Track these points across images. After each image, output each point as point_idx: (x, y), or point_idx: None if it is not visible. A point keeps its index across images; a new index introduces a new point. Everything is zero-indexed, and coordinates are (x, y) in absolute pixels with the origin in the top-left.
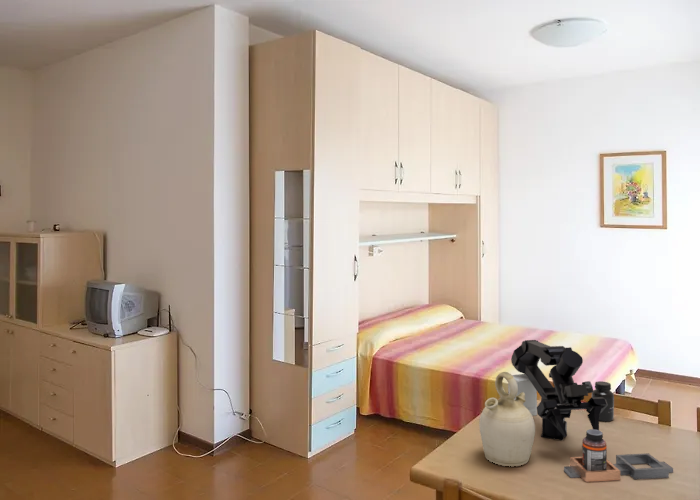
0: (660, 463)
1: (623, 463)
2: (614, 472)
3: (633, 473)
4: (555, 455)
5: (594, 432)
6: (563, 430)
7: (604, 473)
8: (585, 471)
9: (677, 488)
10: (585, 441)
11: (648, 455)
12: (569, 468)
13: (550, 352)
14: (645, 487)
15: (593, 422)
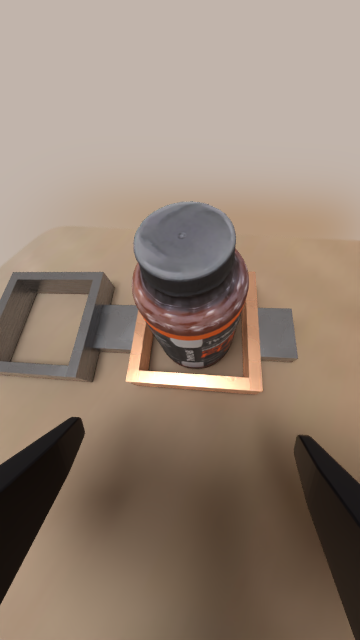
0: (5, 298)
1: (92, 331)
2: None
3: (107, 284)
4: (279, 515)
5: (188, 228)
6: (339, 466)
7: None
8: (252, 278)
9: (59, 245)
10: (243, 267)
11: None
12: (281, 341)
13: None
14: (119, 253)
15: (8, 525)
